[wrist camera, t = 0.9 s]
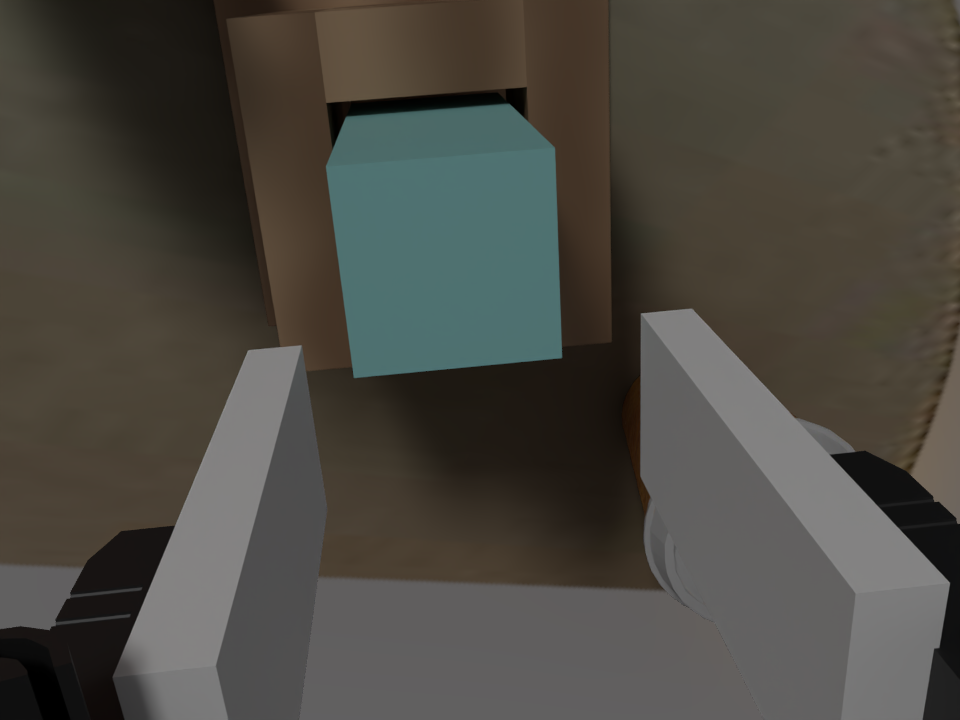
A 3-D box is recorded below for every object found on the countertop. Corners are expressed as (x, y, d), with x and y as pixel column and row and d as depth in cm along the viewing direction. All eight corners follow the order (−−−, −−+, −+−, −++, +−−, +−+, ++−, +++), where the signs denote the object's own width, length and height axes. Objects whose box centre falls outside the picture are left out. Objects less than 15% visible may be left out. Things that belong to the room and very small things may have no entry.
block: (368, 246, 32) (353, 378, 21) (351, 103, 30) (325, 166, 19) (505, 234, 32) (561, 358, 21) (497, 92, 31) (554, 147, 19)
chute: (271, 319, 42) (222, 447, 30) (209, -51, 36) (116, -73, 24) (603, 288, 43) (682, 401, 31) (598, -78, 37) (694, -112, 25)
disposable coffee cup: (802, 356, 46) (933, 472, 34) (721, 509, 49) (816, 660, 38) (636, 298, 44) (717, 402, 32) (562, 462, 47) (613, 607, 36)
